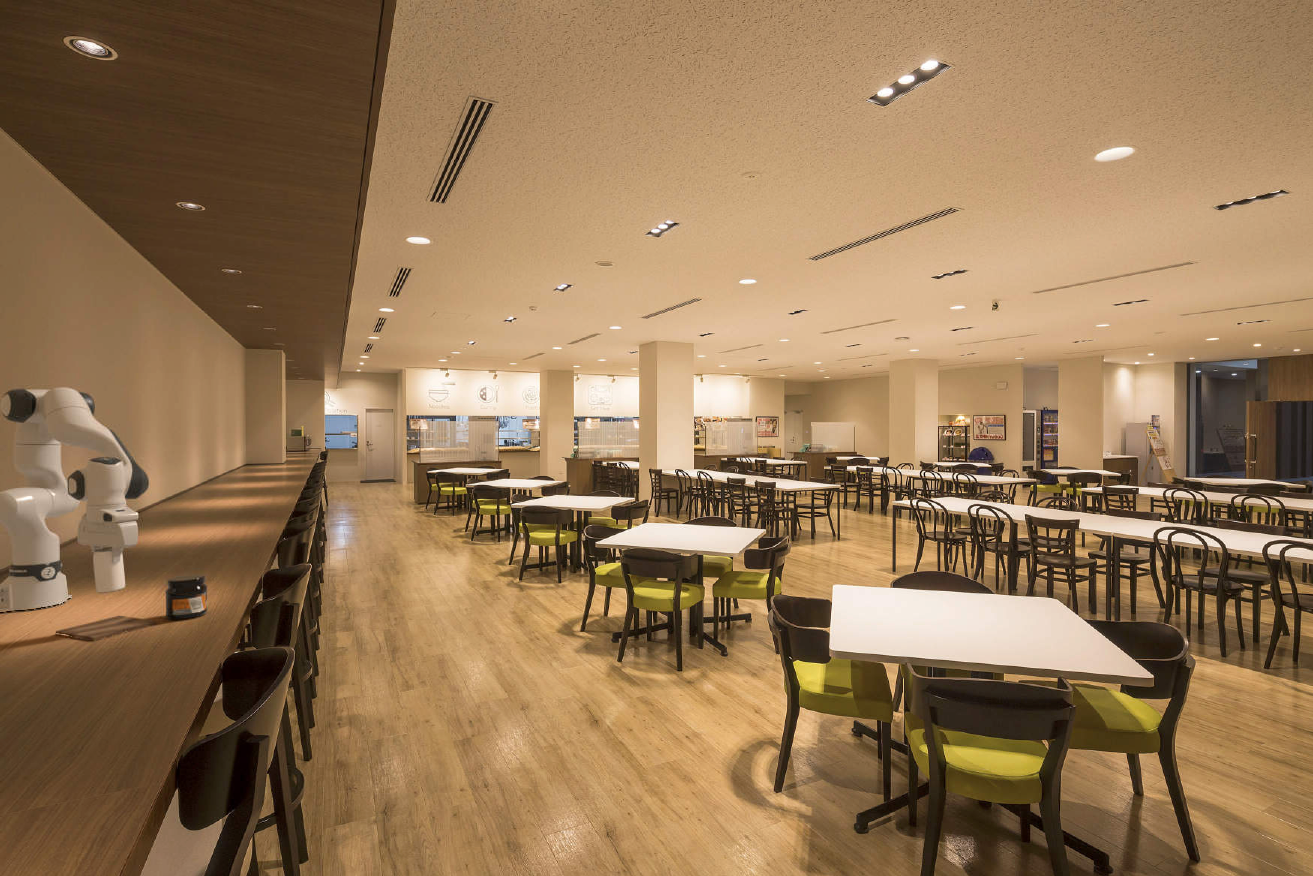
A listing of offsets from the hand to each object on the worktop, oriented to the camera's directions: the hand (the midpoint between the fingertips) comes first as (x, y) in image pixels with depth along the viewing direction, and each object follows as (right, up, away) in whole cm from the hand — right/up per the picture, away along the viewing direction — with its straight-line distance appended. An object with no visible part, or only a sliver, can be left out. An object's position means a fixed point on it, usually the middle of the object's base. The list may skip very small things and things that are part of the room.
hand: (107, 561), depth 184 cm
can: (+1, -9, 0) cm, 9 cm away
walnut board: (0, -20, 0) cm, 20 cm away
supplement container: (+13, -20, +14) cm, 27 cm away
